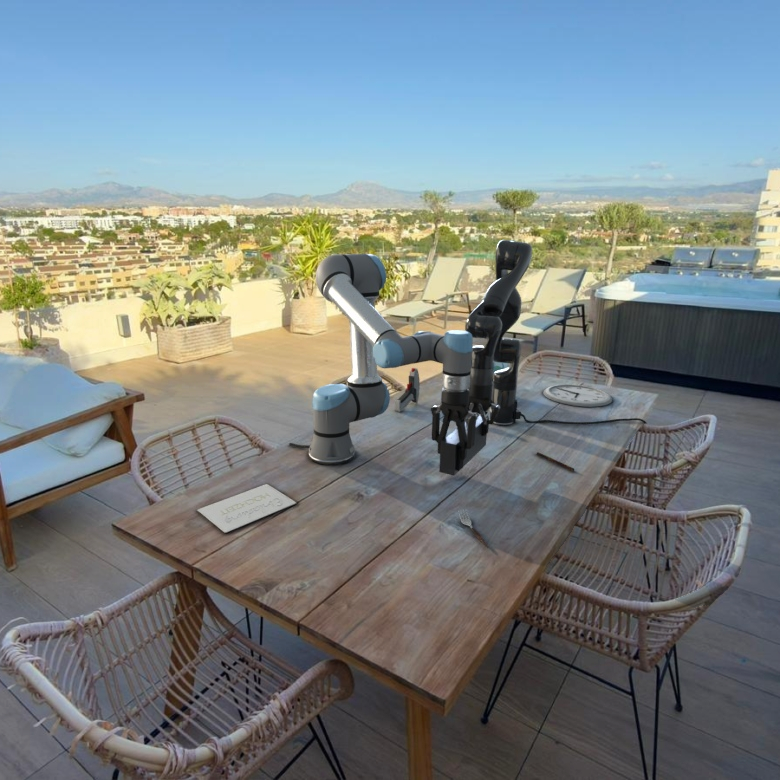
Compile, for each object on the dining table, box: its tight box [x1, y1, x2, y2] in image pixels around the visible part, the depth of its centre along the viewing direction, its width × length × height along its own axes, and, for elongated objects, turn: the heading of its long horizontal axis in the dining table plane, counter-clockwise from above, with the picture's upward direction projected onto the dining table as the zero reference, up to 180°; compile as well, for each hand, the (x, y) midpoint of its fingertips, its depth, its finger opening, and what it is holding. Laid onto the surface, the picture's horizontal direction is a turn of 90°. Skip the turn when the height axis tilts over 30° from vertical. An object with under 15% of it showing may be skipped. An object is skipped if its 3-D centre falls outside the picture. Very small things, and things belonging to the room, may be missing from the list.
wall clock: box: [543, 384, 613, 408], centre depth 240 cm, size 30×2×30 cm
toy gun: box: [394, 367, 421, 413], centre depth 219 cm, size 2×16×15 cm
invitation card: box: [196, 483, 297, 534], centre depth 141 cm, size 21×1×15 cm
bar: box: [438, 415, 488, 476], centre depth 155 cm, size 25×4×9 cm, turn 149°
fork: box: [457, 509, 489, 549], centre depth 131 cm, size 3×16×2 cm, turn 15°
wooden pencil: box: [535, 451, 575, 472], centre depth 171 cm, size 15×1×1 cm, turn 34°
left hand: (451, 466), depth 148 cm, fingers closed on bar, 4 cm apart
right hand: (476, 433), depth 162 cm, fingers closed on bar, 4 cm apart
